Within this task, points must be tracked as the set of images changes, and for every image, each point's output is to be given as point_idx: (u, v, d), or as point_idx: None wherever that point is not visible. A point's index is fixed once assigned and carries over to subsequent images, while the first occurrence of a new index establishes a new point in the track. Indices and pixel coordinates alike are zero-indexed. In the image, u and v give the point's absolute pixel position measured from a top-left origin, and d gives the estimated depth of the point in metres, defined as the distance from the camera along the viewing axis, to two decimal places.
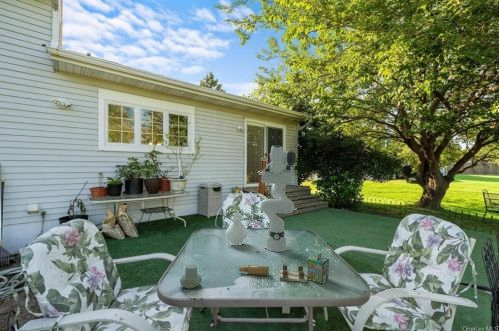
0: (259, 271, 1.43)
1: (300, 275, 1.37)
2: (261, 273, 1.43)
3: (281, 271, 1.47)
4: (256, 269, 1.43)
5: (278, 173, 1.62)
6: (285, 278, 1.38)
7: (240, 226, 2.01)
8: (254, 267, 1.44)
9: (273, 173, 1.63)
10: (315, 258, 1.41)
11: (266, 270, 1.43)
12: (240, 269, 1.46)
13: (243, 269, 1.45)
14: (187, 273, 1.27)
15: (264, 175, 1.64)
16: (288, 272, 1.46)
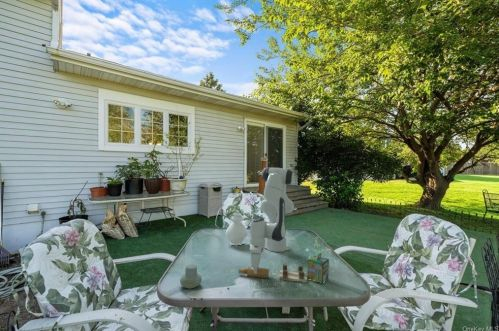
0: None
1: (300, 275, 1.37)
2: None
3: (281, 271, 1.47)
4: None
5: None
6: (285, 278, 1.38)
7: (240, 226, 2.01)
8: (253, 276, 1.42)
9: None
10: (315, 258, 1.41)
11: None
12: None
13: None
14: (187, 273, 1.27)
15: None
16: (288, 272, 1.46)
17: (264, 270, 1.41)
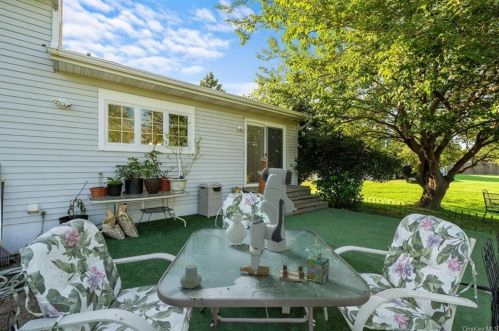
0: (260, 274, 1.43)
1: (300, 275, 1.37)
2: None
3: (281, 271, 1.47)
4: (257, 273, 1.43)
5: None
6: (285, 278, 1.38)
7: (240, 226, 2.01)
8: None
9: (260, 253, 1.43)
10: (315, 258, 1.41)
11: (267, 274, 1.42)
12: (241, 270, 1.46)
13: (244, 271, 1.46)
14: (187, 273, 1.27)
15: None
16: (288, 272, 1.46)
17: (265, 266, 1.46)
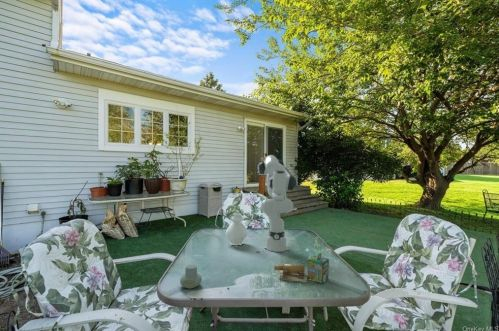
0: (295, 273, 1.40)
1: (300, 275, 1.37)
2: (297, 273, 1.41)
3: (281, 271, 1.47)
4: (292, 272, 1.40)
5: None
6: (285, 278, 1.38)
7: (240, 226, 2.01)
8: (289, 270, 1.40)
9: (282, 200, 1.56)
10: (315, 258, 1.41)
11: None
12: (275, 269, 1.43)
13: (278, 269, 1.43)
14: (187, 273, 1.27)
15: None
16: None
17: None
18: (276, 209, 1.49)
